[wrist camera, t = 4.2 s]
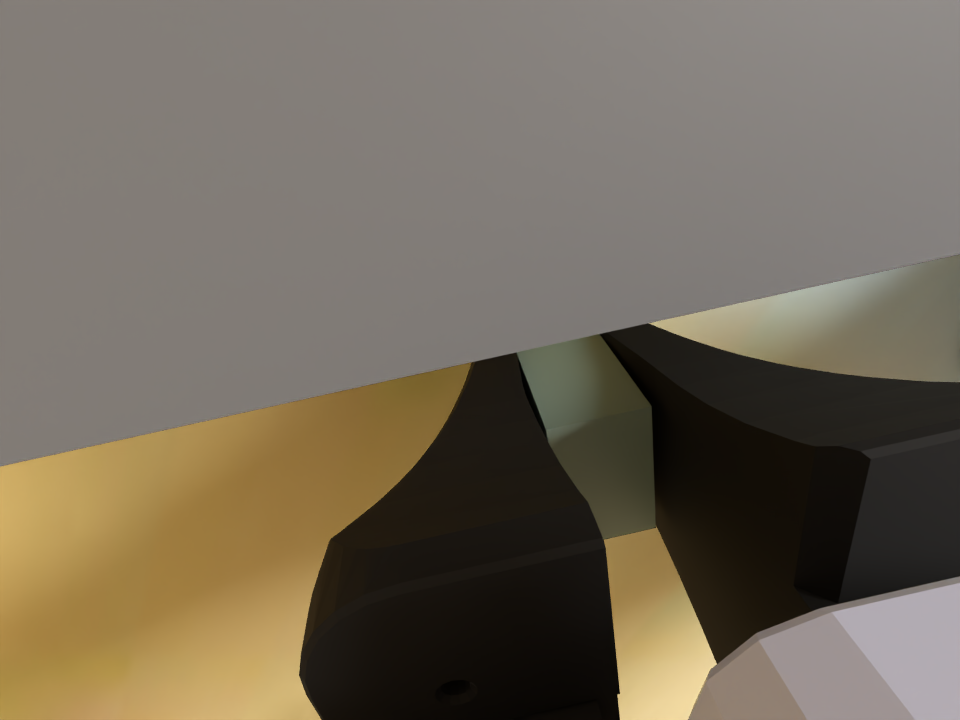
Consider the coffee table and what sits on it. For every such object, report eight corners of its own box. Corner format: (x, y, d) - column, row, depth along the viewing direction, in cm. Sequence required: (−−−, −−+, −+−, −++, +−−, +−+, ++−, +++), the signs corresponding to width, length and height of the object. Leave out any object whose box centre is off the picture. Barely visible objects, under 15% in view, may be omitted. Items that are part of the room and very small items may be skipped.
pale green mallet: (546, -484, 7) (875, -1815, 2) (609, 343, 14) (731, 510, 9) (262, -427, 7) (-99, -1657, 2) (457, 377, 14) (488, 565, 9)
